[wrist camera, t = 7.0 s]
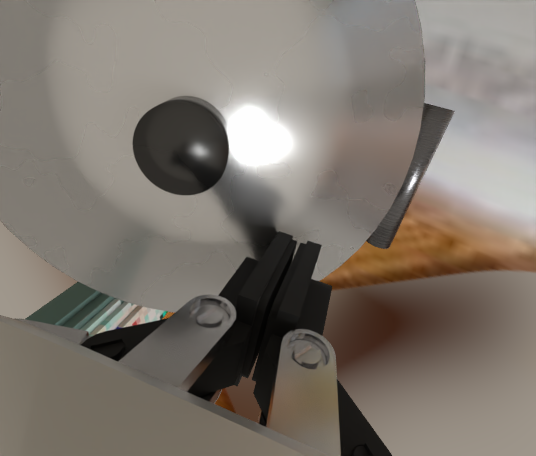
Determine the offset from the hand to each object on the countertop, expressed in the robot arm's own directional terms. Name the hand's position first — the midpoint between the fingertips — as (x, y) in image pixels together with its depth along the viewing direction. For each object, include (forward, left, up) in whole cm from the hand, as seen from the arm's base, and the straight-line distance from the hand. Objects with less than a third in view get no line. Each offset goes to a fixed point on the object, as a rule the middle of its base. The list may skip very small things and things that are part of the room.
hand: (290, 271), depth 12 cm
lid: (+4, -4, 0) cm, 6 cm away
